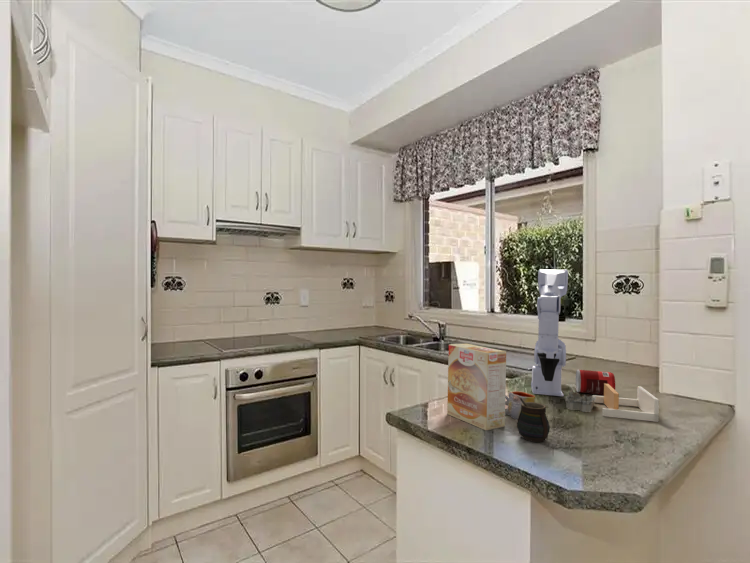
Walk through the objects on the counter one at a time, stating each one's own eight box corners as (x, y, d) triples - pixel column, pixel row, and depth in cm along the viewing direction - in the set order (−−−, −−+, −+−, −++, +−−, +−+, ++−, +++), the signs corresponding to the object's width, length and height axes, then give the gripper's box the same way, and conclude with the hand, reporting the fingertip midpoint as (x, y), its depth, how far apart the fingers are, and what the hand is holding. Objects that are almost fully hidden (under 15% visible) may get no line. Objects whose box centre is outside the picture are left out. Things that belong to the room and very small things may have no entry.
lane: (602, 415, 118) (603, 394, 118) (592, 401, 132) (592, 382, 132) (658, 421, 113) (658, 399, 114) (640, 406, 128) (641, 386, 128)
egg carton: (570, 401, 133) (571, 388, 133) (597, 406, 128) (597, 392, 128) (562, 409, 124) (562, 395, 124) (590, 414, 120) (590, 399, 120)
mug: (539, 417, 115) (539, 393, 115) (531, 423, 110) (532, 398, 110) (496, 409, 122) (497, 386, 122) (487, 414, 117) (488, 390, 117)
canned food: (610, 374, 146) (575, 371, 149) (614, 370, 138) (578, 367, 142) (611, 396, 143) (575, 393, 147) (616, 394, 136) (578, 390, 140)
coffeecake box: (446, 414, 116) (447, 344, 116) (465, 410, 120) (466, 342, 120) (485, 431, 103) (487, 352, 103) (506, 426, 107) (507, 350, 107)
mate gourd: (556, 441, 97) (557, 398, 97) (535, 447, 94) (536, 402, 94) (530, 431, 104) (531, 391, 104) (509, 436, 100) (510, 394, 100)
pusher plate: (613, 414, 118) (614, 393, 118) (603, 402, 130) (604, 383, 130) (618, 415, 118) (618, 393, 118) (608, 403, 130) (608, 383, 130)
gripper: (565, 337, 121) (564, 384, 121) (559, 332, 135) (558, 374, 135) (539, 336, 123) (538, 382, 123) (536, 331, 137) (535, 372, 137)
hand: (547, 378), depth 129 cm, fingers open, 7 cm apart
